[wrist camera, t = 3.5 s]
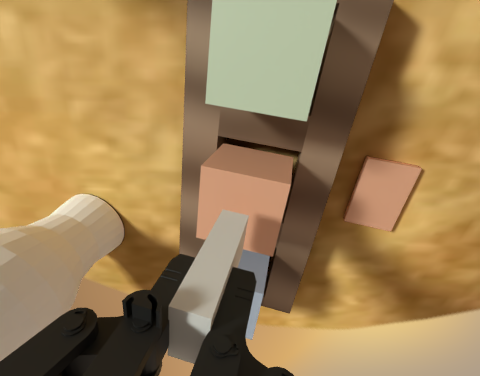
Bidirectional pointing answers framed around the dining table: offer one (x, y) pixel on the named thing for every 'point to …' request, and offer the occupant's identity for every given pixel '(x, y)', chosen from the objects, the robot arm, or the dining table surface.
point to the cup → (51, 265)
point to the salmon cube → (245, 193)
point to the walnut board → (282, 133)
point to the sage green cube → (267, 54)
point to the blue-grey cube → (259, 267)
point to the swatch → (381, 192)
